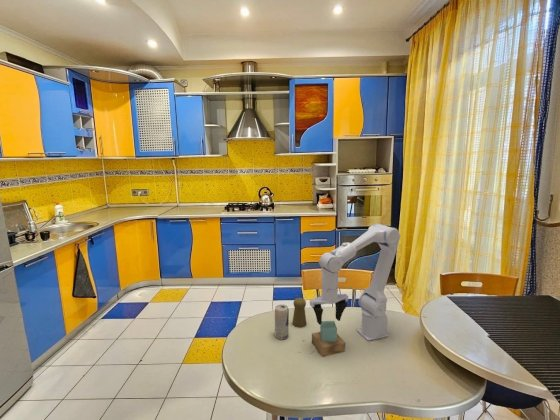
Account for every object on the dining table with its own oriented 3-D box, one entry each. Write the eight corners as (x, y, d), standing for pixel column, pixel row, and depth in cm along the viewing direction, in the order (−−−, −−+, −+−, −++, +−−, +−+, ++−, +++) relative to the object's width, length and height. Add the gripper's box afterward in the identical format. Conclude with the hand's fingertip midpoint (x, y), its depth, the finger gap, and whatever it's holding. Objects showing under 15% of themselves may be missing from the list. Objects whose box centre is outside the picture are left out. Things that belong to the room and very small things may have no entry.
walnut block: (332, 338, 118) (332, 329, 118) (344, 352, 110) (345, 342, 109) (311, 343, 116) (311, 333, 115) (322, 357, 107) (322, 347, 106)
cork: (305, 328, 125) (306, 303, 123) (291, 326, 126) (291, 302, 124) (307, 320, 131) (307, 296, 129) (293, 319, 132) (293, 295, 130)
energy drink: (290, 333, 121) (290, 305, 119) (286, 341, 116) (286, 312, 114) (277, 331, 123) (277, 303, 121) (272, 338, 118) (272, 309, 116)
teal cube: (333, 333, 115) (334, 320, 114) (336, 341, 110) (337, 328, 109) (320, 333, 115) (320, 321, 114) (322, 342, 110) (322, 328, 109)
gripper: (341, 279, 115) (340, 312, 117) (306, 284, 110) (306, 319, 112) (351, 287, 108) (350, 322, 110) (314, 292, 103) (314, 329, 106)
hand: (328, 321), depth 111 cm, fingers open, 7 cm apart
